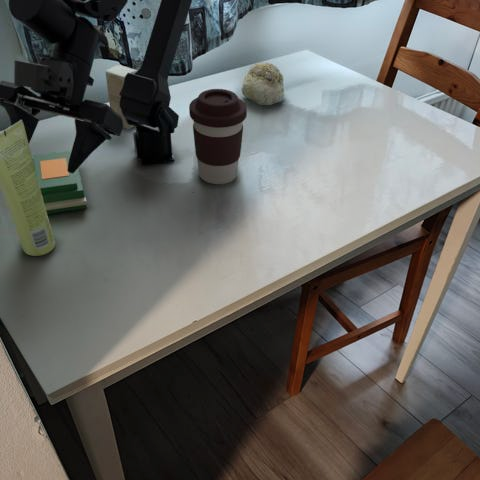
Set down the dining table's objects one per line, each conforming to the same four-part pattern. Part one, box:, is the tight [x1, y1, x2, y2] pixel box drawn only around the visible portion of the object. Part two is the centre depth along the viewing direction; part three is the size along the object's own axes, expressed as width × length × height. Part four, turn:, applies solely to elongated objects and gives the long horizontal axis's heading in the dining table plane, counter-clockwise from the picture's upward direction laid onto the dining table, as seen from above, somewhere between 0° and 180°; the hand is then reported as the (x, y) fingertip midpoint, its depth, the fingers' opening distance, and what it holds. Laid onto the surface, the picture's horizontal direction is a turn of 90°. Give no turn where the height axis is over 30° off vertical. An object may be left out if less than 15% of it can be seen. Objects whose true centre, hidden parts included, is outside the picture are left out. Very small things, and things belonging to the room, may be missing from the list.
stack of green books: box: [32, 150, 88, 215], centre depth 92 cm, size 8×15×5 cm, turn 18°
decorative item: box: [241, 62, 285, 106], centre depth 121 cm, size 12×9×10 cm
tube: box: [0, 120, 56, 257], centre depth 76 cm, size 6×5×20 cm
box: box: [104, 64, 138, 130], centre depth 109 cm, size 5×4×11 cm
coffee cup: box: [188, 88, 248, 185], centre depth 94 cm, size 10×10×15 cm
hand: (43, 165), depth 77 cm, fingers open, 9 cm apart
